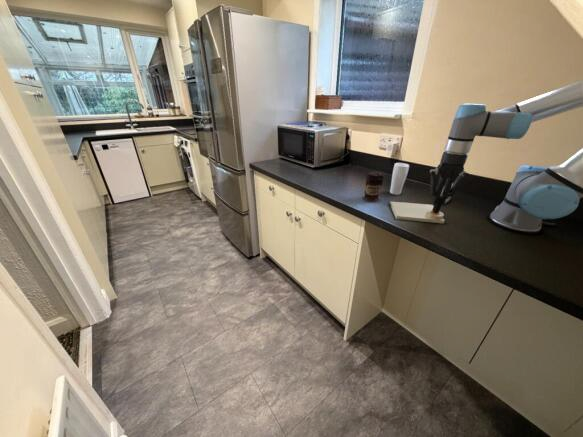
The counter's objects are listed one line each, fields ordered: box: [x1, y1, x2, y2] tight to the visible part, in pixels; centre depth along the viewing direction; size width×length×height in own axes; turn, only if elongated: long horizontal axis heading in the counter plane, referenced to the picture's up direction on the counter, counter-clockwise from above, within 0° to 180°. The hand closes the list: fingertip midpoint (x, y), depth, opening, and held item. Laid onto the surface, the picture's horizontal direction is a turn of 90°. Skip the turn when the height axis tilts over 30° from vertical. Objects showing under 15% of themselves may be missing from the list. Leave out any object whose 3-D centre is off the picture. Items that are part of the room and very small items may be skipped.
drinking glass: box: [389, 162, 410, 196], centre depth 116 cm, size 7×7×15 cm
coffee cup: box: [363, 171, 386, 203], centre depth 109 cm, size 9×8×13 cm
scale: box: [389, 201, 446, 224], centre depth 99 cm, size 18×15×3 cm
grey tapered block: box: [441, 182, 454, 205], centre depth 109 cm, size 4×7×10 cm, turn 131°
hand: (435, 211), depth 93 cm, fingers closed
